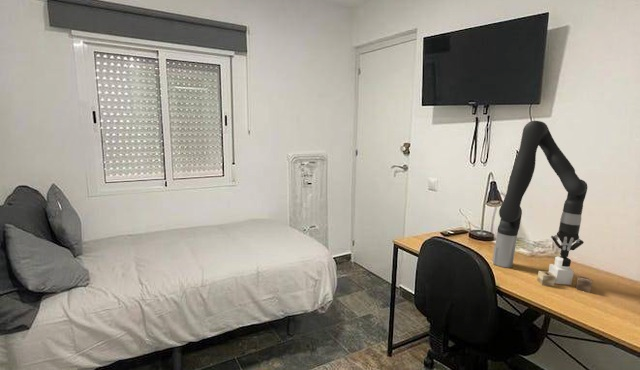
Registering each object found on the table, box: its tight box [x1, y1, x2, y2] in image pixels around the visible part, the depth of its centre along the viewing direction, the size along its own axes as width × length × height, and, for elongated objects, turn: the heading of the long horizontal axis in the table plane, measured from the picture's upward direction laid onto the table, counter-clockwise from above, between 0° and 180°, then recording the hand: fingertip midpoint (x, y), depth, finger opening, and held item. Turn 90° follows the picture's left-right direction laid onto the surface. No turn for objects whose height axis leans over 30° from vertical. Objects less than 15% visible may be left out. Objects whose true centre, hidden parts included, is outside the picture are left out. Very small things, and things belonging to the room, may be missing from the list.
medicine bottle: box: [547, 255, 574, 286], centre depth 160 cm, size 7×7×12 cm
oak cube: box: [536, 270, 555, 287], centre depth 158 cm, size 5×5×5 cm
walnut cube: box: [575, 275, 593, 294], centre depth 153 cm, size 5×5×5 cm
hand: (563, 257), depth 159 cm, fingers closed
